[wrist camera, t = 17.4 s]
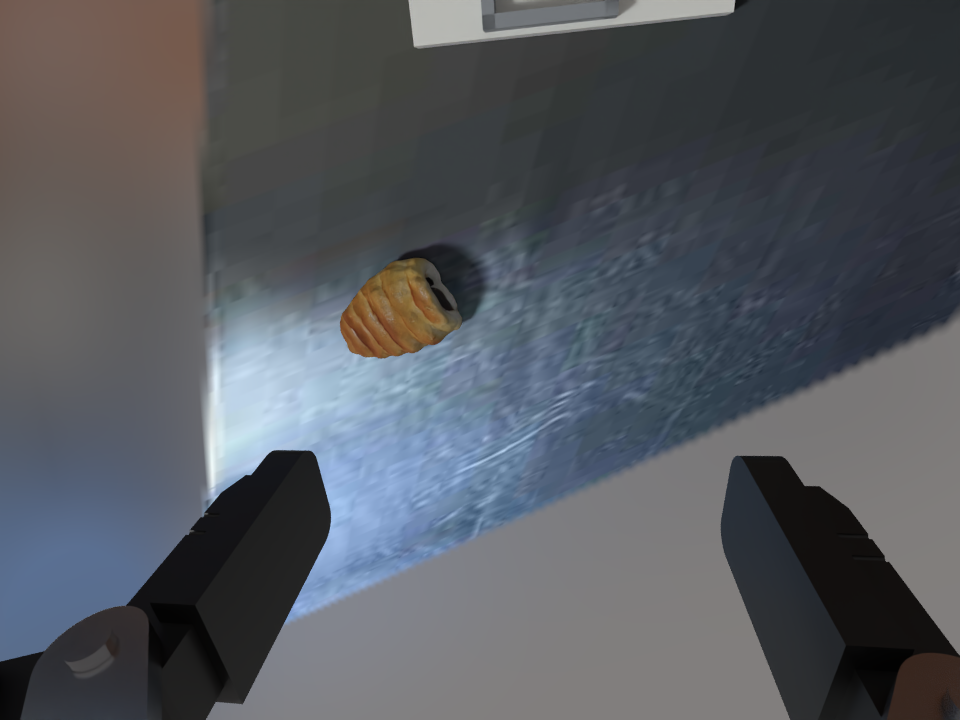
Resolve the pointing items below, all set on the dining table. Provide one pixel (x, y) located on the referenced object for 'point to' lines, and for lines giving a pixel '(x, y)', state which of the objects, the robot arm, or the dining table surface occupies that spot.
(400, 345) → the pastry
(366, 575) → the dining table surface
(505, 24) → the board
